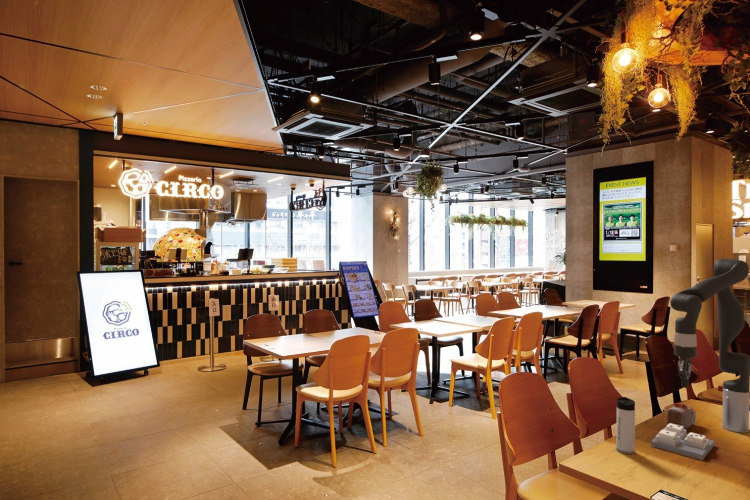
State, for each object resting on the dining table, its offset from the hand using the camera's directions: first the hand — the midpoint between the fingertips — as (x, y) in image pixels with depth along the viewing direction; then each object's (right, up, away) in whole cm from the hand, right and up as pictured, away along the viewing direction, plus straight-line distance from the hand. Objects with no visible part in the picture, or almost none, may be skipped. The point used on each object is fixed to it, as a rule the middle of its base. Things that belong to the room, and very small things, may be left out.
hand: (684, 387), depth 188 cm
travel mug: (-27, -23, -6) cm, 36 cm away
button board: (-2, -23, -1) cm, 23 cm away
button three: (+1, -20, -5) cm, 20 cm away
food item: (+12, -23, +20) cm, 33 cm away
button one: (-8, -19, -2) cm, 21 cm away
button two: (-1, -20, +5) cm, 20 cm away
